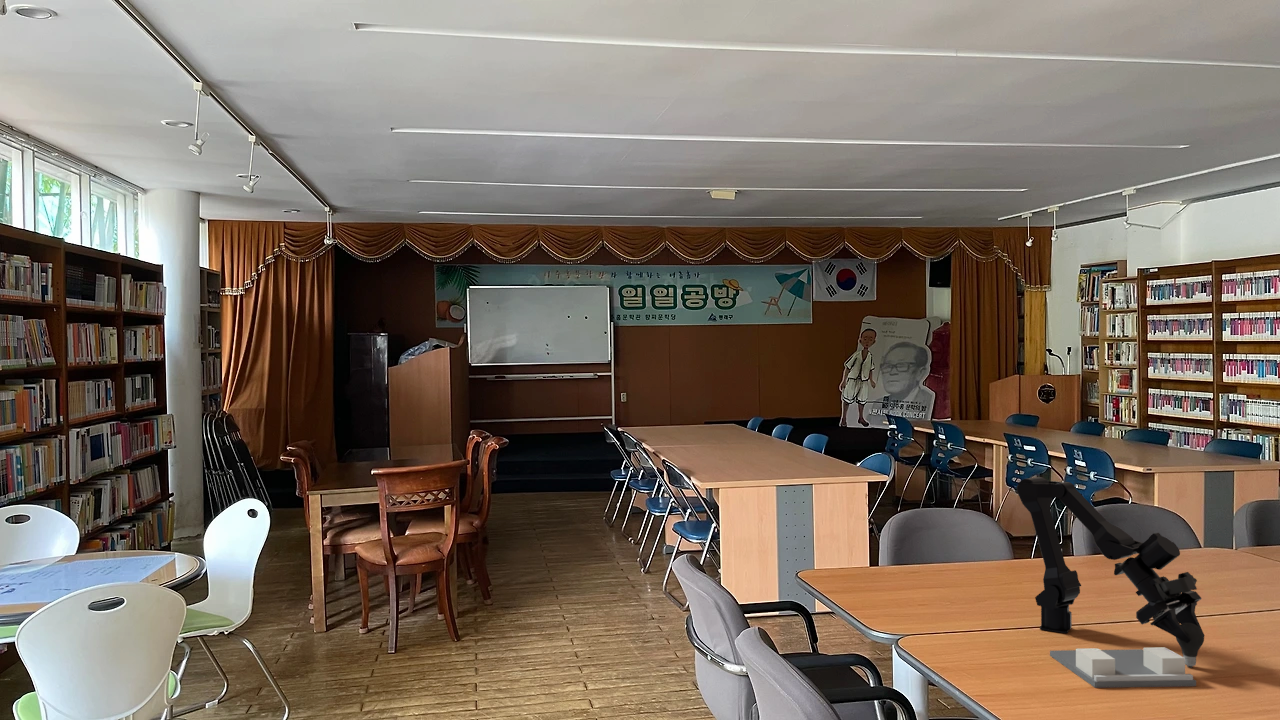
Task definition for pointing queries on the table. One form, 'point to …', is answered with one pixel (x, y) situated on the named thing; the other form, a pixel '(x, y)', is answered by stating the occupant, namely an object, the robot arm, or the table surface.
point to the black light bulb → (1191, 643)
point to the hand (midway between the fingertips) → (1196, 639)
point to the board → (1126, 667)
